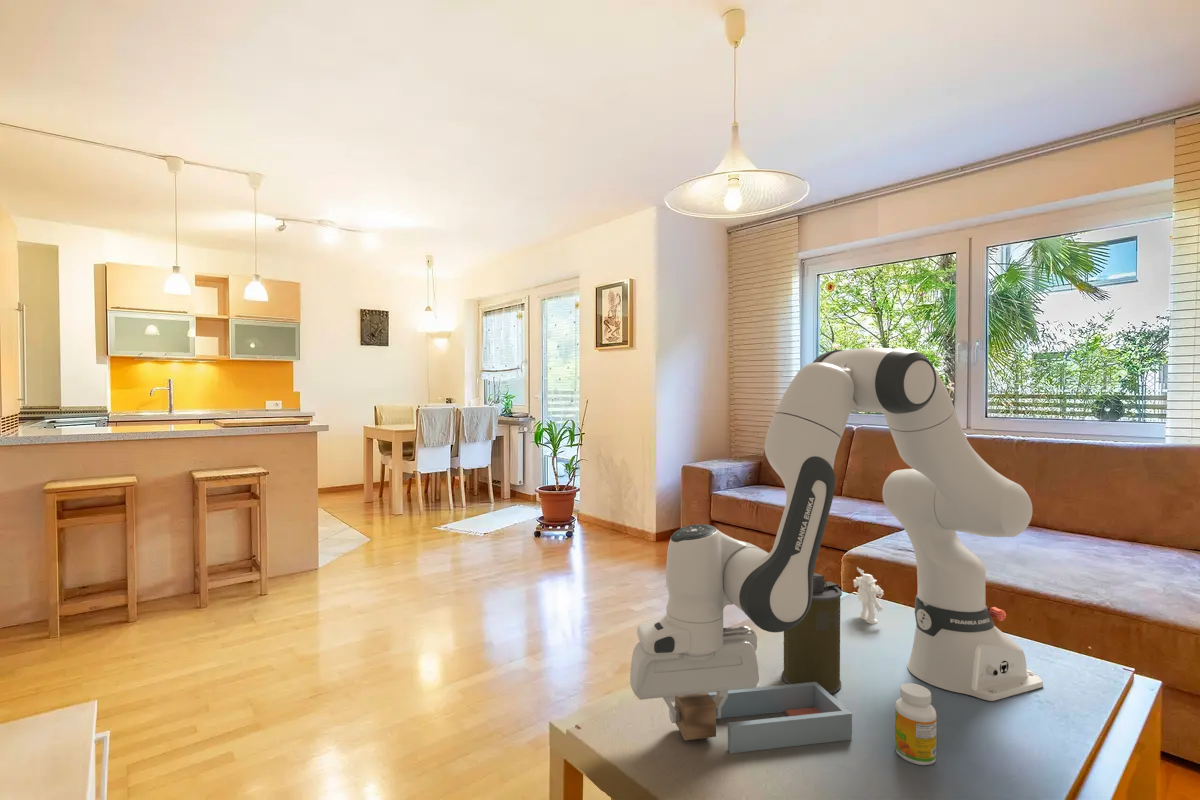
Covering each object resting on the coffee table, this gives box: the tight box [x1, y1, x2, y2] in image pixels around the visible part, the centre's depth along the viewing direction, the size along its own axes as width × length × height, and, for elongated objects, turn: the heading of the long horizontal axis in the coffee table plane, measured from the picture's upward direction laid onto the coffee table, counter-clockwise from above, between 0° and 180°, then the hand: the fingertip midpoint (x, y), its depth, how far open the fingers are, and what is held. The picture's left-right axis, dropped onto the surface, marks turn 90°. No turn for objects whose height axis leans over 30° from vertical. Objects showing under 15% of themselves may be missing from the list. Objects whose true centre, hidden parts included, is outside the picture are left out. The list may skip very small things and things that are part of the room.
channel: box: [708, 682, 853, 754], centre depth 91 cm, size 20×10×4 cm, turn 100°
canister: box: [781, 572, 843, 695], centre depth 106 cm, size 11×10×20 cm
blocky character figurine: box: [852, 566, 885, 625], centre depth 135 cm, size 9×4×12 cm, turn 10°
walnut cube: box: [674, 693, 717, 741], centre depth 89 cm, size 5×5×5 cm
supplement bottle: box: [894, 682, 937, 766], centre depth 84 cm, size 5×5×10 cm
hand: (695, 718), depth 89 cm, fingers closed on walnut cube, 5 cm apart
